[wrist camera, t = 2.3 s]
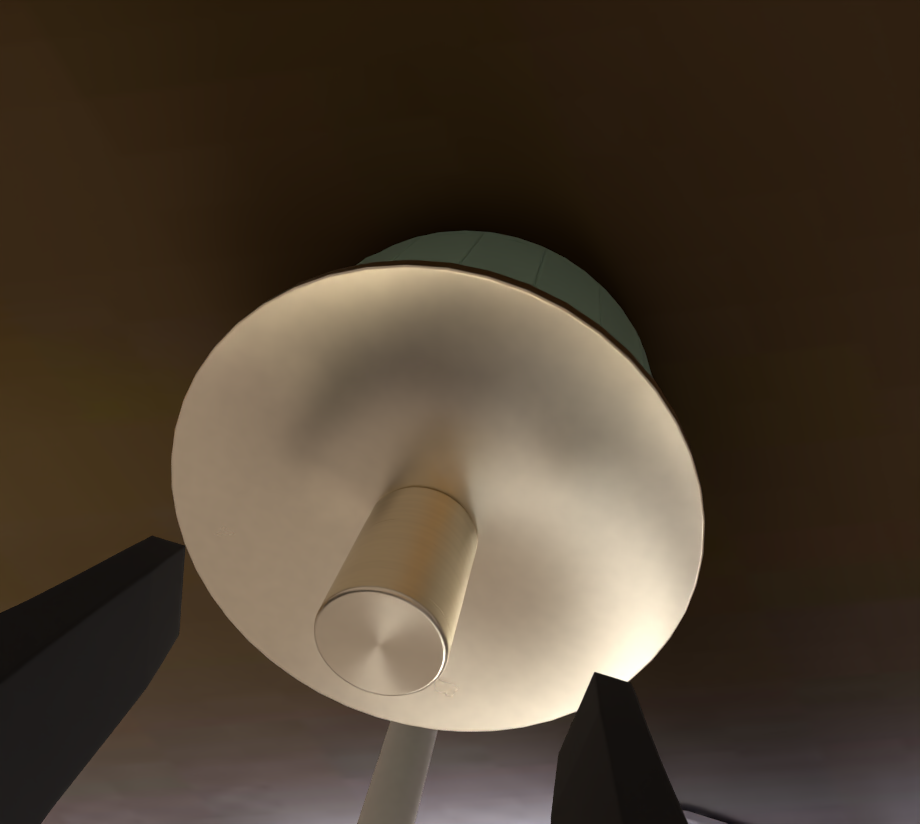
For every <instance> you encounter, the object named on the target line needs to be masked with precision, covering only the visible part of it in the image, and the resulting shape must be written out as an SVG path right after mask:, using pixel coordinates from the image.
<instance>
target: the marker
mask: <svg viewBox="0 0 920 824" xmlns="http://www.w3.org/2000/svg"><path fill="white" fill-rule="evenodd" d="M437 731H438V730H433V729H427V728H421V727H415V726H409V725H404V724H400V723H397V722H393V721H390V725H389V728H388V731H387V734H386V737H385V740H384V743H383V746H382V749H381V752H380V755H379V758H378V761H377V765H376V768H375V771H374V774H373V777H372V780H371V783H370V786H369V789H368V792H367V795H366V798H365V801H364V805H363V808H362V811H361V814H360V817H359V820H358V823H357V824H415V820H416V816H417V812H418V808H419V804H420V800H421V796H422V792H423V788H424V784H425V780H426V776H427V772H428V768H429V764H430V760H431V755H432V751H433V747H434V743H435V739H436V735H437Z"/></svg>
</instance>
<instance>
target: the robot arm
mask: <svg viewBox="0 0 920 824" xmlns="http://www.w3.org/2000/svg"><path fill="white" fill-rule="evenodd" d="M184 557H185V546H184V545H181V544H177V543H174V542H171V541H168V540H164V539H161V538H158V537H154V536H151V537H149V538H147V539H145V540H143V541H141V542H139V543H137V544H135V545H133V546H131V547H129V548H127V549H125V550H124V551H122V552H120V553H118V554H116V555H114V556H112V557H110V558H108V559H107V560H105V561H103V562H101V563H99V564H97V565H95V566H93V567H91V568H90V569H88V570H86V571H84V572H82V573H80V574H78V575H76V576H74V577H72V578H71V579H69V580H67V581H65V582H63V583H61V584H59V585H57V586H55V587H53V588H51V589H49V590H47V591H45V592H43V593H41V594H39V595H37V596H35V597H33V598H31V599H29V600H27V601H25V602H23V603H21V604H19V605H17V606H15V607H12V608H10V609H8V610H6V611H4V612H2V613H0V824H41V823H42V821H43V820H44V819H45V817H46V816H47V815H48V813H49V812H50V810H51V809H52V808H53V806H54V805H55V804H56V802H57V801H58V800H59V799H60V797H61V796H62V795H63V794H64V792H65V791H66V790H67V789H68V787H69V786H70V785H71V783H72V782H73V781H74V780H75V778H76V777H77V776H78V775H79V773H80V772H81V771H82V770H83V768H84V767H85V766H86V764H87V763H88V762H89V761H90V759H91V758H92V757H93V756H94V754H95V753H96V752H97V751H98V749H99V748H100V747H101V745H102V744H103V743H104V742H105V740H106V739H107V738H108V737H109V735H110V734H111V733H112V732H113V730H114V729H115V728H116V726H117V725H118V724H119V723H120V721H121V720H122V719H123V717H124V716H125V715H126V714H127V712H128V711H129V710H130V708H131V707H132V706H133V705H134V703H135V702H136V701H137V699H138V698H139V697H140V696H141V694H142V693H143V692H144V690H145V689H146V688H147V686H148V685H149V683H150V681H151V680H152V678H153V677H154V675H155V673H156V672H157V670H158V669H159V667H160V665H161V664H162V662H163V661H164V659H165V657H166V655H167V654H168V652H169V650H170V649H171V647H172V645H173V644H174V642H175V640H176V639H177V637H178V635H179V629H180V615H181V600H182V586H183V572H184ZM551 824H727V823H724V822H721V821H718V820H715V819H712V818H709V817H705V816H702V815H699V814H696V813H693V812H690V811H685V810H682V808H681V806H680V804H679V801H678V799H677V797H676V795H675V792H674V790H673V788H672V785H671V783H670V781H669V778H668V776H667V774H666V771H665V769H664V766H663V764H662V762H661V759H660V757H659V754H658V751H657V749H656V746H655V744H654V741H653V739H652V736H651V734H650V731H649V728H648V726H647V723H646V720H645V718H644V715H643V712H642V709H641V707H640V704H639V701H638V698H637V696H636V693H635V690H634V688H633V686H632V685H631V683H630V682H627V681H623V680H620V679H617V678H614V677H610V676H607V675H604V674H601V673H597V672H594V674H593V676H592V678H591V681H590V683H589V685H588V687H587V690H586V692H585V694H584V697H583V699H582V701H581V704H580V706H579V708H578V710H577V713H576V715H575V717H574V720H573V722H572V724H571V727H570V729H569V731H568V734H567V736H566V738H565V740H564V743H563V745H562V747H561V750H560V752H559V755H558V763H557V771H556V779H555V786H554V795H553V804H552V813H551Z"/></svg>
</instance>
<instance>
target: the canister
mask: <svg viewBox="0 0 920 824" xmlns="http://www.w3.org/2000/svg"><path fill="white" fill-rule="evenodd" d="M398 260H423V261H436V262H450V263H456V264H461V265H465V266H470V267H475V268H480V269H485V270H489V271H493V272H496V273H499V274H502V275H505V276H507V277H510V278H513V279H516V280H519V281H522V282H525V283H528V284H530V285H532V286H534V287H536V288H538V289H540V290H542V291H544V292H546V293H548V294H550V295H552V296H554V297H556V298H558V299H560V300H562V301H564V302H566V303H568V304H569V305H571V306H572V307H574V308H575V309H577V310H578V311H580V312H581V313H583V314H584V315H586V316H587V317H589V318H590V319H592V320H593V321H595V322H596V323H598V324H599V325H601V326H602V327H603V328H604V329H605V330H606V331H607V332H608V333H610V334H611V335H612V336H613V337H614V338H615V339H616V340H617V341H619V342H620V343H621V344H622V345H623V346H624V347H625V348H626V349H628V350H629V351H630V352H631V353H632V355H633V356H634V357H635V358H636V359H637V360H638V362H639V363H640V364H641V365H642V366H643V367H644V369H645V370H646V371H647V372H648V373H649V374H650V376H651V377H652V374H651V371H650V367H649V364H648V360H647V357H646V353H645V351H644V348H643V346H642V344H641V341H640V338H639V337H638V335H637V332H636V331H635V329H634V327H633V326H632V324H631V322H630V321H629V319H628V318H627V316H626V315H625V313H624V311H623V310H622V308H621V307H620V306H619V305H618V304H617V303H616V301H615V300H614V299H613V298H612V297H611V295H610V294H609V293H608V292H607V291H606V290H605V289H604V288H603V287H602V286H601V285H600V284H599V283H598V282H597V281H595V280H594V279H593V278H592V277H591V276H590V275H589V274H588V273H587V272H585V271H584V270H582V269H581V268H579V267H578V266H576V265H575V264H573V263H572V262H570V261H569V260H568V259H566V258H564V257H562V256H560V255H558V254H556V253H554V252H553V251H551V250H549V249H547V248H545V247H543V246H540V245H537V244H534V243H531V242H529V241H526V240H523V239H520V238H517V237H512V236H507V235H502V234H498V233H493V232H481V231H466V230H465V231H450V232H438V233H434V234H429V235H424V236H418V237H415V238H412V239H409V240H406V241H404V242H401V243H398V244H395V245H393V246H391V247H389V248H387V249H385V250H383V251H381V252H379V253H377V254H374V255H372V256H369V257H367V258H365V259H364V260H362V261H361V262H360V263H358V264H357V265H361V264H365V263H370V262H382V261H398ZM355 266H356V265H355ZM652 378H653V377H652Z"/></svg>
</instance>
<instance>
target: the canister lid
mask: <svg viewBox="0 0 920 824" xmlns="http://www.w3.org/2000/svg"><path fill="white" fill-rule="evenodd" d="M171 474H172V492H173V498H174V505H175V511H176V517H177V520H178V523H179V527H180V530H181V533H182V537H183V540H184V543H185V546H186V548H187V550H188V553H189V555H190V557H191V559H192V562H193V564H194V566H195V569H196V571H197V572H198V574H199V576H200V578H201V579H202V581H203V583H204V584H205V586H206V588H207V590H208V591H209V593H210V595H211V596H212V597H213V599H214V600H215V602H216V603H217V604H218V606H219V607H220V608H221V610H222V611H223V612H224V614H225V615H226V616H227V618H228V619H229V620H230V621H231V622H232V623H233V624H234V626H235V627H236V628H237V629H238V630H239V631H240V632H241V633H242V634H243V635H244V636H245V638H246V639H247V640H248V641H249V642H250V643H252V644H253V645H254V646H255V647H256V648H257V649H258V650H259V651H261V652H262V653H263V654H264V655H265V656H266V657H267V658H268V659H269V660H271V661H272V662H273V663H275V664H276V665H277V666H279V667H280V668H282V669H283V670H284V671H286V672H287V673H288V674H290V675H291V676H292V677H294V678H295V679H297V680H299V681H300V682H302V683H304V684H305V685H307V686H309V687H310V688H312V689H314V690H315V691H317V692H319V693H320V694H323V695H325V696H327V697H329V698H331V699H333V700H335V701H337V702H339V703H341V704H343V705H346V706H348V707H350V708H353V709H356V710H358V711H361V712H364V713H367V714H369V715H372V716H375V717H378V718H382V719H385V720H389V721H393V722H397V723H400V724H404V725H409V726H415V727H421V728H427V729H433V730H445V731H458V732H482V731H500V730H507V729H515V728H523V727H527V726H532V725H536V724H540V723H544V722H548V721H552V720H555V719H558V718H561V717H563V716H566V715H569V714H572V713H574V712H577V710H578V708H579V706H580V704H581V701H582V699H583V697H584V694H585V692H586V690H587V687H588V685H589V683H590V681H591V678H592V676H593V674H594V672H597V673H601V674H604V675H607V676H610V677H614V678H617V679H620V680H623V681H627V682H629V681H630V680H631V679H632V678H634V677H635V676H636V675H637V674H638V673H639V672H640V671H641V670H642V669H643V668H645V667H646V666H647V665H648V664H649V663H650V662H651V661H652V660H653V659H654V658H655V656H656V655H657V654H658V653H659V651H660V650H661V649H662V648H663V647H664V645H665V644H666V643H667V642H668V640H669V639H670V638H671V636H672V635H673V633H674V631H675V630H676V628H677V626H678V624H679V623H680V621H681V619H682V618H683V616H684V614H685V613H686V610H687V608H688V605H689V603H690V600H691V598H692V595H693V593H694V590H695V588H696V585H697V582H698V577H699V572H700V568H701V563H702V558H703V554H704V537H705V514H704V505H703V496H702V488H701V484H700V480H699V476H698V473H697V469H696V466H695V462H694V458H693V455H692V451H691V447H690V444H689V442H688V440H687V438H686V435H685V433H684V431H683V429H682V426H681V424H680V422H679V420H678V418H677V415H676V413H675V411H674V410H673V408H672V407H671V405H670V403H669V402H668V400H667V399H666V397H665V396H664V394H663V392H662V391H661V389H660V388H659V386H658V385H657V383H656V382H655V380H654V379H653V378H652V377H651V376H650V374H649V373H648V372H647V371H646V370H645V369H644V367H643V366H642V365H641V364H640V363H639V362H638V360H637V359H636V358H635V357H634V356H633V355H632V353H631V352H630V351H629V350H628V349H626V348H625V347H624V346H623V345H622V344H621V343H620V342H619V341H617V340H616V339H615V338H614V337H613V336H612V335H611V334H610V333H608V332H607V331H606V330H605V329H604V328H603V327H602V326H601V325H599V324H598V323H596V322H595V321H593V320H592V319H590V318H589V317H587V316H586V315H584V314H583V313H581V312H580V311H578V310H577V309H575V308H574V307H572V306H571V305H569V304H568V303H566V302H564V301H562V300H560V299H558V298H556V297H554V296H552V295H550V294H548V293H546V292H544V291H542V290H540V289H538V288H536V287H534V286H532V285H530V284H528V283H525V282H522V281H519V280H516V279H513V278H510V277H507V276H505V275H502V274H499V273H496V272H493V271H489V270H485V269H480V268H475V267H470V266H465V265H461V264H456V263H450V262H436V261H423V260H398V261H382V262H370V263H365V264H361V265H356V266H351V267H346V268H341V269H336V270H333V271H330V272H327V273H325V274H322V275H319V276H316V277H314V278H311V279H308V280H305V281H302V282H300V283H298V284H297V285H295V286H293V287H291V288H289V289H287V290H285V291H284V292H282V293H280V294H278V295H276V296H274V297H272V298H271V299H269V300H268V301H266V302H264V303H263V304H262V305H260V306H259V307H258V308H256V309H255V310H254V311H252V312H251V313H250V314H248V315H247V316H246V317H244V318H243V319H242V320H240V321H239V322H238V323H236V325H235V326H234V327H233V328H232V329H231V330H230V331H229V332H228V333H227V334H226V335H225V336H224V337H223V338H222V339H221V340H220V341H219V342H218V343H217V344H216V345H215V346H214V348H213V349H212V351H211V352H210V354H209V355H208V356H207V358H206V359H205V361H204V362H203V364H202V365H201V367H200V368H199V369H198V371H197V372H196V375H195V377H194V379H193V381H192V383H191V385H190V387H189V389H188V391H187V394H186V396H185V398H184V400H183V403H182V407H181V410H180V414H179V417H178V421H177V424H176V427H175V433H174V441H173V448H172V456H171Z"/></svg>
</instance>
